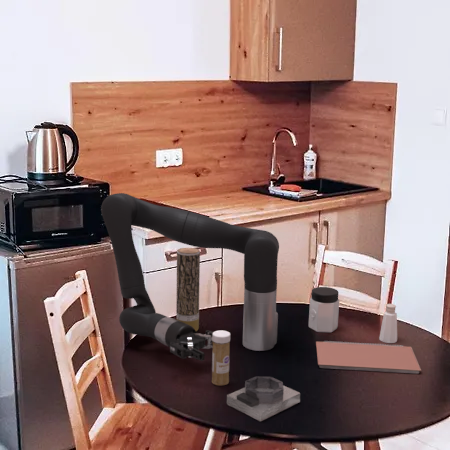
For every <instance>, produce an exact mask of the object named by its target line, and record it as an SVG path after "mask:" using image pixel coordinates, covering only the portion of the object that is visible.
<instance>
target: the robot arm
mask: <svg viewBox="0 0 450 450" xmlns="http://www.w3.org/2000/svg"><path fill="white" fill-rule="evenodd" d="M100 209H101V210H100V212H101V215H102V219H103V222H104V224H105V227H106V230H107V234H108V236H109V239H110V243H111V247H112V250H113V251H112V252H113V255H114V258H115V259H114V260H115V266H116V269H117V276H118V281H119V282H118V283H119V289H120V293H121V296H122V298H124V299H126V300H127V299H128V300H129V299H133V300H134V301H135V303H136V305H133V306H130V307H126V308H124V309H123V310H122V311H121V312H120V314H119V318H118V319H119V324H120V326H121V328H122V329H123V330H124V331H125V332H127V333H129V334H131V335H137V336H140V337H141V336H142V337H148V338H149V337H150V338H151V339H154V341H155V340H156V341H158V342H159V343H161V344H162V345H163V346H166V347H168V348H169V352H170V353H171V354H172V355H174V356H177V357H178V358H181V360H183V359H187V357H188V358H189V359H190V358H193V359H196V360H197V361H200V362H203V361H205V359H206V358H205V356H206V355H205V353H204V351H201V350H200V349H205V350H210V349H212V348H213V340H212V334H213V332H214V331H212V330H208V329H207V330H205V334H204V333H199V332H198V331H195V329H194V328H193V327H192V326H190V325H188V324H185V323H183V322H181V321H178V320H176V318H172V317H169V316H166V315H164V314H161V313H159V312H156V308H155V306H154V305H153V302H152V300H151V298H150V295H149V294H148V291H147V289H146V284H145V278H144V272H143V267H142V263H141V261H140V258H139V255H138V252H137V249H136V247H135V243H134V239H133V238H134V237H133V231H132V227H138V228H142V229H143V228H144V229H148V230H150V231H153V232H155V233H157V234H160V235H162V236H164V237H165V238H168V239H169V240H172V241H175V242H177V243H180V244H184V245H186V246H187V245H188V246H192V247H194V248H202V249H203V248H204V249H223V250H230V251H234V252H238V253H239V254H243V255H244V256H243V282H244V289H243V290H244V292H243V319H242V324H243V325H242V345H243V347H245V349H248V350H252V351H255V352H256V351H259V352H260V351H269V350H271V349H273V348H274V347H275V345H276V344H278V342H277V341H278V322H279V321H278V319H279V314H278V312H277V291H278V289H277V288H278V259H279V258H278V257H279V249H280V243H279V240H278V238H277V237H276V235H274V234H273V233H272V232H269V231H268V230H263V229H257V228H250V227H243V226H239V225H234V224H232V223H228V222H225V221H222V220H219V219H216V218H213V217H210V216H206V215H203V214H200V213H195V212H192V211H189V210H185V209H184V210H183V209H181V208H173V207H168V206H164V205H163V206H161V205H159V204H154V203H151V202H148V201H145V200H142V199H140V198H139V197H136V196H134V195H131V194H128V193H125V192H123V193H122V192H121V193H120V192H118V193H112V194H110V195H108V196H107V197H105V198H104V199H103V201H102V204H101V207H100ZM206 342H207V344H206Z"/></svg>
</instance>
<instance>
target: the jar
mask: <svg viewBox="0 0 450 450" xmlns="http://www.w3.org/2000/svg"><path fill="white" fill-rule="evenodd" d="M310 295H311V298H309V309H308V310H309V313H308V328H310V329H311V330H313V331H315V332H317V333H332V332H334V331H335V330H337V329H338V327H339V310H340V309H339V308H340V299H339V290H338V289H335V288H333V287H330V286H329V287H327V286H317V287H315V288H312V289H311V294H310Z"/></svg>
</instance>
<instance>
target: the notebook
mask: <svg viewBox="0 0 450 450" xmlns="http://www.w3.org/2000/svg"><path fill="white" fill-rule="evenodd" d="M315 346H316V356H317V357H316V358H317V365H318V366H319V368H320V369H332V370H333V369H335V370H351V371H352V370H353V371H365V372H366V371H369V372H386V373H398V374H399V373H402V374H404V373H405V374H417V375H418V374H420V372H422V369H421V365H419V361H418V359H417V357H416V355H415V352H414V350H413V348H412V346H405V345H403V344H402V345H400V344H391V343H386V344H385V343H372V342H371V343H370V342H368V343H367V342H366V343H365V342H364V343H363V342H361V343H360V342H348V341H344V342H343V341H335V340H334V341H331V340H329V341H328V340H324V341H315Z"/></svg>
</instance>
